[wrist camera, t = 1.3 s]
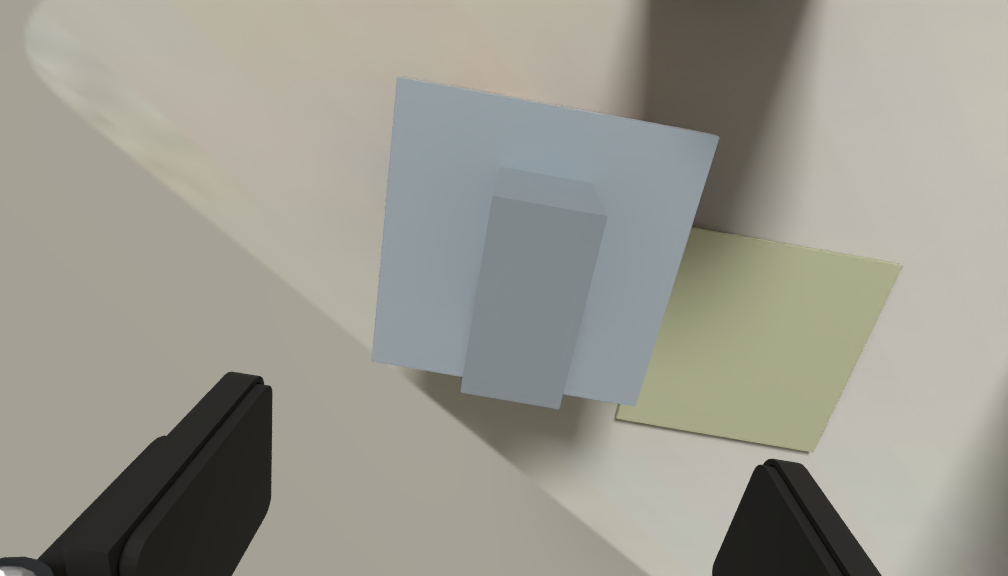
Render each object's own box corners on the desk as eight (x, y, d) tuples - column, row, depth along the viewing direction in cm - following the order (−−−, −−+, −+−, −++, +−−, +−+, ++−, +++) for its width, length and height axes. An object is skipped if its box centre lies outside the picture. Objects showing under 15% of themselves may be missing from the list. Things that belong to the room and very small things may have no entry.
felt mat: (898, 263, 31) (902, 266, 31) (810, 448, 36) (813, 452, 36) (672, 223, 31) (674, 225, 30) (615, 414, 36) (616, 418, 35)
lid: (703, 130, 22) (775, 158, 16) (627, 382, 27) (659, 485, 20) (408, 75, 22) (356, 81, 15) (382, 340, 26) (334, 430, 20)
